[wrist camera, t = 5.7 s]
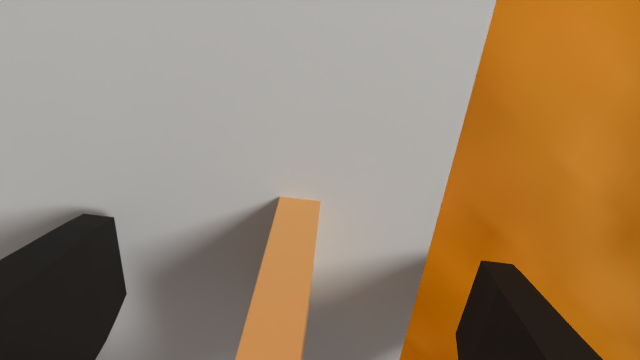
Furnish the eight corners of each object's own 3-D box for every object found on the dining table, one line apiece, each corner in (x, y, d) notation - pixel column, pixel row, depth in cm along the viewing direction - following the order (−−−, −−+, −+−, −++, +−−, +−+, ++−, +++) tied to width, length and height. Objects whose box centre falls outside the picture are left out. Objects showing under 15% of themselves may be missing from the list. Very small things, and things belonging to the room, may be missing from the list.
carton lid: (369, 450, 14) (373, 655, 10) (-95, 392, 14) (-263, 571, 10) (531, -171, 6) (799, -293, 2) (-488, -276, 7) (-1687, -533, 3)
